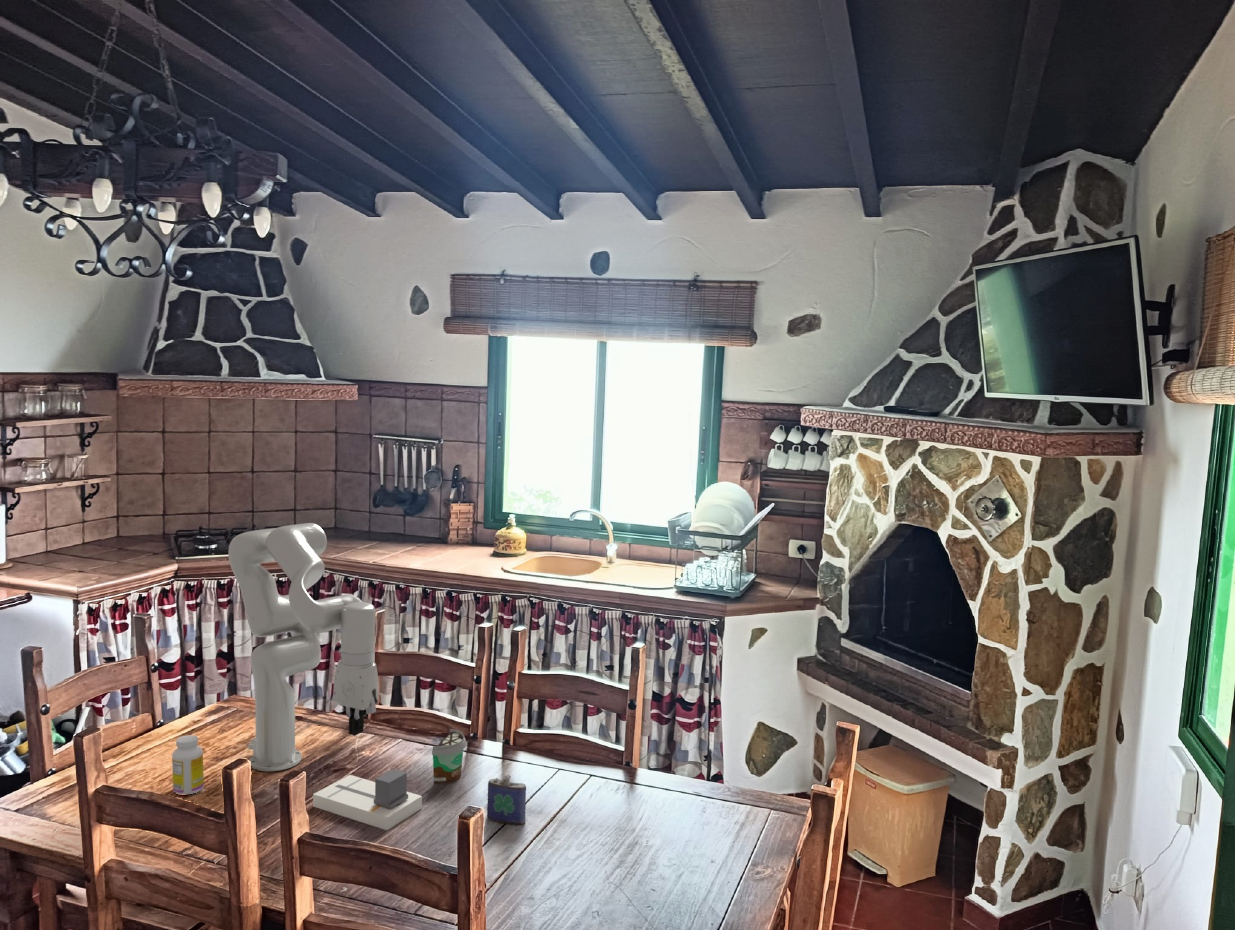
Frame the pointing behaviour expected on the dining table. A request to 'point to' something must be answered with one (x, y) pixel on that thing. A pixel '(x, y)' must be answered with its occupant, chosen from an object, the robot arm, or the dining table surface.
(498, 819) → the flask
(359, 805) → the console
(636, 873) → the dining table surface
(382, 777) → the fader tab
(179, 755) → the supplement bottle
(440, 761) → the food container
